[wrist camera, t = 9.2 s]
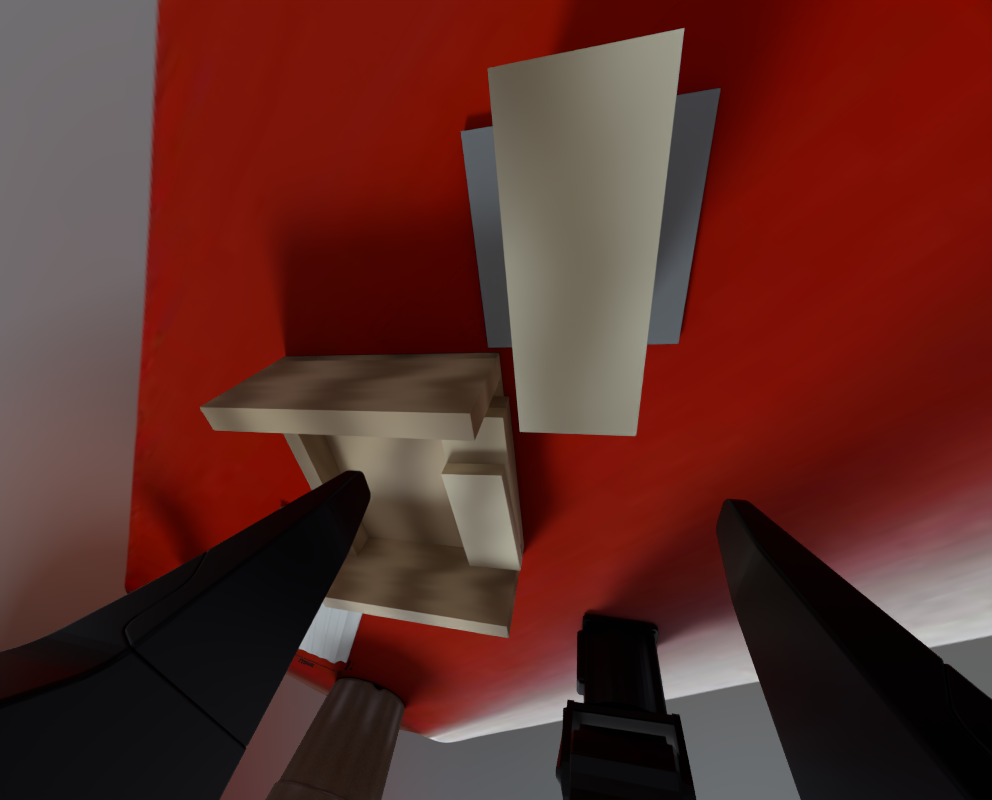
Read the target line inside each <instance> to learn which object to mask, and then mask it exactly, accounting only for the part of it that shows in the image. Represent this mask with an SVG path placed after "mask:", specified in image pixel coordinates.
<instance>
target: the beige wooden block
mask: <svg viewBox="0 0 992 800" xmlns="http://www.w3.org/2000/svg"><path fill="white" fill-rule="evenodd" d="M683 35H684V28H682V29H677V30H672V31H667V32H663V33H658V34H653V35H648V36H643V37H638V38H633V39H628V40H624V41H619V42H614V43H609V44H604V45H599V46H594V47H589V48H585V49H580V50H575V51H570V52H565V53H560V54H555V55H550V56H546V57H541V58H536V59H531V60H526V61H521V62H516V63H511V64H507V65H502V66H497V67H492V68H488V78H489V89H490V100H491V112H492V123H493V134H494V146H495V157H496V168H497V179H498V191H499V202H500V213H501V225H502V236H503V247H504V259H505V270H506V281H507V293H508V304H509V315H510V327H511V338H512V349H513V360H514V372H515V383H516V394H517V406H518V417H519V428H520V432H538V433H567V434H595V435H624V436H636V431H637V423H638V415H639V406H640V398H641V389H642V381H643V372H644V364H645V356H646V347H647V339H648V330H649V322H650V313H651V305H652V297H653V288H654V280H655V271H656V263H657V254H658V246H659V238H660V229H661V221H662V212H663V204H664V196H665V187H666V179H667V170H668V162H669V153H670V145H671V137H672V128H673V120H674V111H675V103H676V94H677V86H678V78H679V69H680V61H681V52H682V44H683Z"/></svg>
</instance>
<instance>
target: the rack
mask: <svg viewBox="0 0 992 800" xmlns="http://www.w3.org/2000/svg"><path fill="white" fill-rule="evenodd" d="M493 396H504V393H503V384H502V375H501V366H500V357H499V353H452V354H395V355H337V356H285V357H283V358H282V359H280V360H278V361H276V362H275V363H273V364H271V365H270V366H268V367H266V368H265V369H263V370H261V371H260V372H258V373H256V374H255V375H253V376H251V377H250V378H248V379H246V380H245V381H243V382H241V383H240V384H238V385H236V386H235V387H233V388H231V389H230V390H228V391H226V392H225V393H223V394H221V395H219V396H218V397H216V398H214V399H213V400H211V401H209V402H208V403H206V404H204V405H203V406H201V407H200V409H201V410H202V412H203V413H204V415H205V417H206V418H207V420H208V421H209V423H210V425H211V426H212V428H213V429H214V430H220V431H244V432H268V433H283V434H284V436H285V438H286V440H287V442H288V444H289V446H290V448H291V450H292V452H293V454H294V456H295V458H296V460H297V462H298V463H299V465H300V467H301V469H302V471H303V473H304V475H305V477H306V479H307V481H308V483H309V485H310V487H311V489H312V490H313V489H315V488H317V487H319V486H320V485H322V484H324V483H326V482H327V481H329V480H331V479H333V478H334V477H336V476H338V475H340V474H341V473H343V472H345V471H347V470H357V471H362V472H363V473H364V475H365V478H366V481H367V484H368V486H369V489H370V492H371V499H370V502H369V505H368V507H367V510H366V512H365V515H364V517H363V519H362V522H361V524H360V527H359V529H358V532H357V534H356V537H355V539H354V542H353V544H352V546H351V548H350V551H349V553H348V555H347V557H346V559H345V561H344V563H343V565H342V567H341V569H340V570H339V572H338V574H337V576H336V578H335V580H334V582H333V584H332V586H331V588H330V590H329V591H328V593H327V595H326V597H325V599H324V601H323V604H324V605H325V607H329V608H335V609H341V610H347V611H353V612H358V613H364V614H370V615H376V616H382V617H388V618H394V619H400V620H406V621H411V622H417V623H423V624H429V625H435V626H441V627H447V628H453V629H459V630H464V631H470V632H476V633H482V634H488V635H494V636H500V637H506V638H509V633H510V626H511V620H512V614H513V608H514V601H515V595H516V589H517V582H518V576H519V570H510V569H499V568H488V567H477V566H470V565H469V562H468V559H467V555H466V552H465V549H464V546H463V543H462V539H461V536H460V533H459V530H458V527H457V523H456V520H455V517H454V514H453V511H452V507H451V504H450V501H449V498H448V495H447V491H446V488H445V485H444V482H443V479H442V475H441V473H442V471H443V469H444V467H445V465H446V463H447V462H446V458H445V453H444V449H443V445H442V440H461V441H475V439H476V437H477V434H478V432H479V429H480V427H481V424H482V422H483V419H484V417H485V415H486V412H487V410H488V407H489V405H490V402H491V400H492V397H493Z"/></svg>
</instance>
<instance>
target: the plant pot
mask: <svg viewBox="0 0 992 800" xmlns="http://www.w3.org/2000/svg"><path fill="white" fill-rule="evenodd" d="M404 709H405V708H404V704H403V703H402V701H401V700H400V699H399V698H398V697H397V696H396V695H394V694H393V693H392V692H390V691H388V690H387V689H385V688H383V689H381V690H378V689H376V688H375V687H374V685H373V683H371V682H367V681H363V680H360V679H357V678H342V679H338V680H337V681H336V682H335V683H334V685H333V686H332V688H331V690H330V691H329V693H328V695H327V697H326V699H325V700H324V702H323V704H322V706H321V708H320V709H319V711H318V713H317V715H316V717H315V718H314V720H313V722H312V724H311V725H310V727H309V729H308V731H307V732H306V734H305V736H304V738H303V740H302V741H301V743H300V745H299V747H298V748H297V750H296V752H295V754H294V755H293V757H292V759H291V761H290V762H289V764H288V766H287V768H286V770H285V771H284V773H283V775H282V776H281V778H280V780H279V781H278V782H276V783H275V784H274V786H273V787H272V789H271V791H270V793H269V794H268V796H267V798H266V800H381V799H382V795H383V791H384V787H385V783H386V779H387V775H388V771H389V767H390V763H391V759H392V755H393V752H394V748H395V744H396V740H397V736H398V732H399V728H400V724H401V721H402V717H403V713H404Z"/></svg>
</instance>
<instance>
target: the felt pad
mask: <svg viewBox="0 0 992 800" xmlns="http://www.w3.org/2000/svg"><path fill="white" fill-rule="evenodd" d="M720 89H721V88H718V89H712V90H706V91H700V92H694V93H688V94H682V95H676V103H675V111H674V120H673V128H672V137H671V145H670V153H669V162H668V170H667V179H666V187H665V196H664V204H663V212H662V221H661V229H660V238H659V246H658V254H657V263H656V271H655V280H654V288H653V297H652V305H651V313H650V322H649V330H648V339H647V344H678V343H679V337H680V330H681V324H682V318H683V312H684V306H685V300H686V294H687V288H688V282H689V276H690V270H691V264H692V258H693V252H694V246H695V240H696V234H697V228H698V222H699V216H700V210H701V204H702V198H703V192H704V186H705V180H706V174H707V167H708V161H709V155H710V149H711V143H712V137H713V131H714V125H715V119H716V113H717V107H718V101H719V95H720ZM461 137H462V145H463V152H464V160H465V168H466V176H467V184H468V192H469V200H470V208H471V216H472V223H473V231H474V239H475V247H476V255H477V263H478V271H479V279H480V287H481V294H482V302H483V310H484V318H485V326H486V334H487V342H488V348H494V347H512V338H511V327H510V315H509V304H508V293H507V281H506V270H505V259H504V247H503V236H502V225H501V213H500V202H499V191H498V179H497V168H496V157H495V146H494V134H493V126H491V127H485V128H479V129H473V130H467V131H461Z"/></svg>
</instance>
